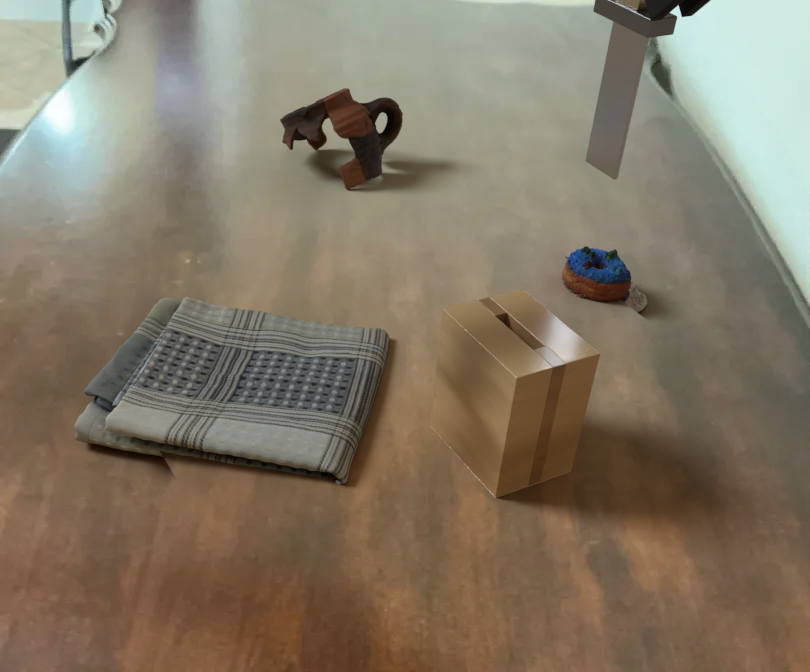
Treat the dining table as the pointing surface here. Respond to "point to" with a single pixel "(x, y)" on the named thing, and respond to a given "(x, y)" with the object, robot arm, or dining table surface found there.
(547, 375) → the knife block
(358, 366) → the dish towel
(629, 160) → the dining table surface
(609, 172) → the knife
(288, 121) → the brown wooden irregular piece
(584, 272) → the dessert
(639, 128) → the dining table surface
